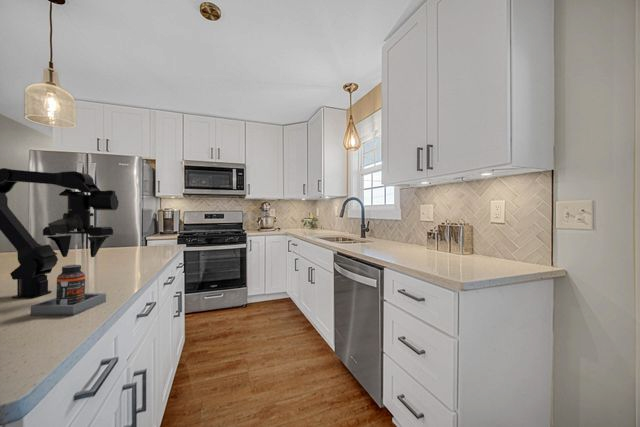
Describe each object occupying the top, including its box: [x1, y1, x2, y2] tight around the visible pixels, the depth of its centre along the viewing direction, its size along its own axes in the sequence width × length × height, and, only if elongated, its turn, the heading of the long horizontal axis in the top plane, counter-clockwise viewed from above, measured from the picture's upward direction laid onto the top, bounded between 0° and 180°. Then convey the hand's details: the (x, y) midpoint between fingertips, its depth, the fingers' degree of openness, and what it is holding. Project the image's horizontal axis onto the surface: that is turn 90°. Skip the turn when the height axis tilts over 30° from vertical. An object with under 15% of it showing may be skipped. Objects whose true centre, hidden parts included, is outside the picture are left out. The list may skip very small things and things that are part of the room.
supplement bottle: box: [55, 264, 86, 305], centre depth 76 cm, size 6×6×11 cm
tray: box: [30, 292, 107, 317], centre depth 76 cm, size 11×11×2 cm
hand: (78, 256), depth 90 cm, fingers open, 9 cm apart
